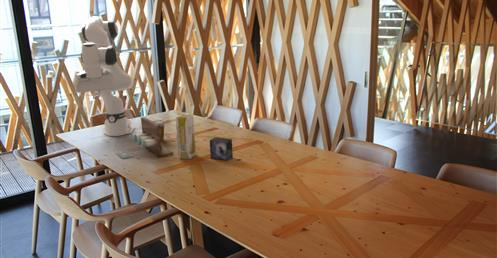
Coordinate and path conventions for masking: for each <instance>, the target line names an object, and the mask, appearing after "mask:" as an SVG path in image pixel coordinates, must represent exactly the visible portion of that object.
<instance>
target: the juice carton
mask: <svg viewBox="0 0 497 258" xmlns="http://www.w3.org/2000/svg"><path fill="white" fill-rule="evenodd" d="M194 120H195V119H194V115H193V114H192V113H191V114H190V113H187V112H186V113H184V114H183V113H182V114H180V115H179V116H177V117H176V118H175V128H176V129H175V130H176V142H177V152H178V157H179V159H181V160H183V159H184V160H191V159H192V158H193V157H194V156H196V136H195V121H194Z"/></svg>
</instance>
